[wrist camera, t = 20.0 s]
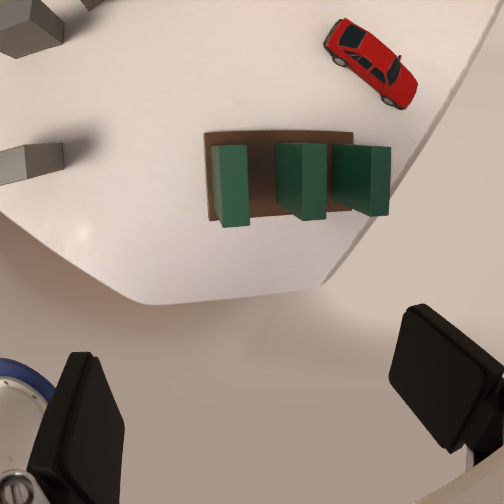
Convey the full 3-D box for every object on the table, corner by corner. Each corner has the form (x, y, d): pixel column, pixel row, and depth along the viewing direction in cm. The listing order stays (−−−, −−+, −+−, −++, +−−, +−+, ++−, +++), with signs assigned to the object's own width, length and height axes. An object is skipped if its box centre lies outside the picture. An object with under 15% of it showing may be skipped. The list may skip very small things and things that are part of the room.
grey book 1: (62, 44, 27) (29, 19, 17) (15, 59, 25) (-25, 42, 16) (64, 22, 26) (33, -7, 16) (18, 37, 24) (-20, 16, 15)
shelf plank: (346, 208, 41) (352, 210, 39) (208, 218, 38) (209, 221, 36) (347, 132, 38) (353, 132, 36) (203, 133, 34) (204, 133, 33)
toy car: (395, 115, 38) (418, 114, 33) (313, 50, 33) (330, 40, 29) (412, 83, 37) (434, 79, 32) (335, 18, 32) (352, 6, 27)
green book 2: (294, 142, 35) (327, 143, 27) (295, 201, 38) (326, 219, 29) (274, 143, 35) (301, 143, 26) (275, 203, 37) (302, 221, 29)
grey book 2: (64, 169, 32) (27, 179, 23) (18, 178, 31) (-25, 192, 22) (62, 143, 31) (24, 144, 22) (15, 153, 30) (-29, 160, 20)
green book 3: (349, 144, 37) (391, 147, 28) (348, 199, 39) (388, 215, 31) (331, 143, 36) (371, 145, 28) (331, 200, 38) (369, 216, 30)
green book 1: (231, 144, 34) (247, 144, 26) (234, 206, 36) (250, 225, 28) (210, 146, 34) (218, 146, 25) (213, 207, 36) (222, 228, 28)
